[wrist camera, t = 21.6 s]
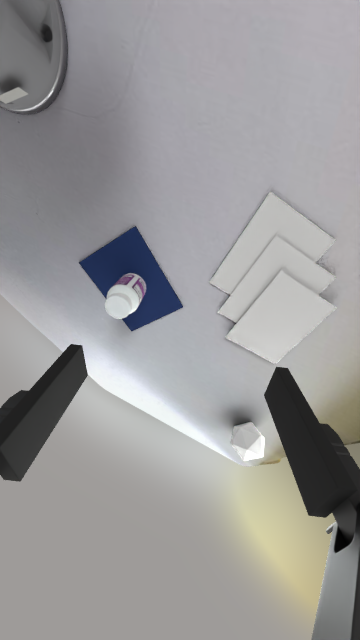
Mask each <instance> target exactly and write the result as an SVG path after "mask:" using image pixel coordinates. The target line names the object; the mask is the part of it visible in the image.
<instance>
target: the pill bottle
mask: <svg viewBox="0 0 360 640" xmlns="http://www.w3.org/2000/svg"><path fill="white" fill-rule="evenodd" d="M145 292H146V284H145V282H144V280H143V279H142V278H141V277H140V276H139V275H137V274H133V273H128V274H125V275H124V276H122V277H121V278H120V279H119V280H118V281H117V282H116V283H115V284H114V285H113V286H112V287H111V288H110V290H109V291H108V293H107V300H106V301H105V309H106V311H107V313H108V314H109V315H110V316H112V317H114V318H117V319H122V318H125V317H127V316H128V315H129V314H131V313H133V312H134V311H135V310H136V309H137V308H138V306H139V304H140V302H141V300H142V298H143V296H144V295H145Z"/></svg>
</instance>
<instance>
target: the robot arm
mask: <svg viewBox="0 0 360 640" xmlns="http://www.w3.org/2000/svg"><path fill="white" fill-rule="evenodd" d="M66 66H67V36H66V28H65V22H64V17H63V12H62V9H61V5H60V2H59V0H0V107H2V108H4V109H6V110H8V111H11V112H14V113H17V114H34V113H38V112H40V111H42V110H44V109H45V108H47V107H48V106H49V105H50V104H51V103H52V102H53V101H54V100H55V98H56V97H57V95H58V93H59V91H60V89H61V86H62V84H63V81H64V77H65V72H66ZM86 377H87V369H86V364H85V359H84V353H83V348H82V345H73V344H71V345H70V346H69V347H68V348H67V349H66V350H65V351H64V352H63V353H62V355H61V356H60V357H59V358H58V359H57V360H56V361H55V362H54V363H53V365H52V366H51V367H50V368H49V369H48V370H47V371H46V372H45V374H44V375H43V376H42V377H41V378H40V379H39V380H38V381H37V382H36V384H35V385H34V386H33V387H32V388H31V389H30V390H29V391H23V390H21V391H19V392H18V393H16V394H15V395H13V396H12V397H10V398H9V399H8V400H7V401H6V402H5V403H4V404H3V406H2V407H1V408H0V475H1V476H2V478H3V479H4V480H11V481H21V480H22V478H23V477H24V475H25V473H26V472H27V470H28V469H29V467H30V465H31V464H32V462H33V461H34V459H35V458H36V456H37V455H38V453H39V451H40V450H41V448H42V446H43V445H44V443H45V442H46V440H47V439H48V437H49V436H50V434H51V432H52V431H53V429H54V428H55V426H56V424H57V423H58V421H59V420H60V418H61V417H62V415H63V413H64V412H65V410H66V409H67V407H68V405H69V404H70V402H71V401H72V399H73V398H74V396H75V394H76V393H77V391H78V390H79V388H80V387H81V385H82V383H83V382H84V380H85V379H86ZM264 396H265V399H266V402H267V404H268V407H269V410H270V412H271V415H272V418H273V420H274V423H275V426H276V429H277V431H278V434H279V437H280V439H281V442H282V445H283V447H284V450H285V453H286V456H287V458H288V461H289V464H290V466H291V469H292V472H293V475H294V477H295V480H296V483H297V485H298V488H299V491H300V493H301V496H302V499H303V502H304V504H305V507H306V510H307V512H308V515H309V516H317V517H327V516H328V515H329V514H331V513H333V515H334V517H335V520H336V522H335V523H333V524H332V525H331V526H329V527H328V529H327V530H326V532H327V533H328V534H329V533H331V532H332V537H331V541H330V547H329V552H328V557H327V562H326V567H325V573H324V578H323V583H322V588H321V594H320V599H319V604H318V609H317V614H316V619H315V624H314V630H313V635H312V640H360V469H359V467H358V466H357V464H356V463H355V461H354V460H353V458H352V457H351V456H350V453H349V452H348V450H347V448H346V447H344V444H343V442H342V440H341V439H340V437H339V436H338V434H337V433H336V432H335V431H334V430H333V429H332V428H331V427H330V426H329V425H328V424H320V423H319V421H318V420H317V418H316V416H315V415H314V413H313V411H312V409H311V408H310V406H309V404H308V402H307V401H306V399H305V397H304V395H303V394H302V392H301V390H300V389H299V387H298V385H297V383H296V382H295V380H294V378H293V376H292V375H291V373H290V371H289V370H288V368H281V367H276V369H275V371H274V373H273V376H272V378H271V380H270V383H269V385H268V387H267V390H266V392H265V394H264Z"/></svg>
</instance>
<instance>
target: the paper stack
mask: <svg viewBox="0 0 360 640" xmlns="http://www.w3.org/2000/svg"><path fill="white" fill-rule="evenodd" d="M335 241H336V240H335V239H333V238H332V237H331V236H329V235H328V234H327V233H325V232H324V231H323V230H321V229H320V228H319V227H317V226H316V225H315V224H313V223H312V222H311V221H309V220H308V219H307V218H305V217H304V216H303V215H301V214H300V213H299V212H297V211H296V210H295V209H293V208H292V207H290V206H289V205H288V204H286V203H285V202H284V201H282V200H281V199H280V198H278V197H277V196H276V195H274V194H273V193H272V192H270V193H269V194H268V196H267V197H266V199H265V200H264V202H263V203H262V205H261V206H260V207H259V209H258V210H257V212H256V213H255V215H254V216H253V218H252V219H251V221H250V222H249V224H248V225H247V227H246V228H245V230H244V231H243V233H242V234H241V236H240V237H239V239H238V240H237V242H236V243H235V245H234V246H233V248H232V249H231V251H230V252H229V254H228V255H227V257H226V258H225V260H224V261H223V263H222V264H221V266H220V267H219V269H218V270H217V272H216V273H215V275H214V276H213V278H212V279H211V281H210V282H209V283H210V284H212V285H214V286H215V287H217V288H219V289H221V290H222V291H224V292H226V293H227V294H229V295H230V297H229V298H228V299H227V301H226V302H225V303H224V305H223V306H222V307H221V309H220V310H219V311H218V313H220V314H221V315H223V316H225V317H227V318H229V319H230V320H232V321H234V322H236V323H237V324H236V325H235V326H234V327H233V328H232V330H231V331H230V332H229V333H228V334H227V335H226V337H225V338H227V339H229V340H231V341H232V342H234V343H236V344H238V345H240V346H242V347H244V348H246V349H248V350H249V351H251V352H253V353H255V354H257V355H259V356H261V357H263V358H264V359H266V360H268V361H270V362H272V363H274V364H276V363H277V362H278V361H279V360H281V359H282V358H283V357H284V356H285V355H286V354H287V353H288V352H289V351H290V350H291V349H293V348H294V347H295V346H296V345H297V344H298V343H299V342H300V341H301V340H302V339H304V338H305V337H306V336H307V335H308V334H309V333H310V332H311V331H312V330H313V329H314V328H316V327H317V326H318V325H319V324H320V323H321V322H322V321H323V320H324V319H325V318H327V317H328V316H329V315H330V314H331V313H332V312H333V311H334V310H335V309H336V308H337V307H335V306H334V305H332V304H331V303H329V302H328V301H326V300H325V299H323V298H322V297H320V296H319V294H320V293H321V292H322V291H323V290H324V289H325V288H326V287H327V286H328V285H329V284H330V283H331V282H332V281H333V280H334V279H335V278H336V277H335V276H334V275H332V274H331V273H329V272H328V271H327V270H325V269H324V268H322V267H321V266H319V265H318V264H316V262H317V261H318V260H319V259H320V258H321V256H322V255H323V254H324V253H325V252H326V251H327V250H328V249H329V248H330V247H331V245H332V244H333V243H334V242H335Z"/></svg>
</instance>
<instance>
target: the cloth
mask: <svg viewBox="0 0 360 640" xmlns="http://www.w3.org/2000/svg"><path fill="white" fill-rule="evenodd" d="M79 264H80V265H81V266H82V268H83V269H84V270H85V271H86V273H87V274H88V275H89V277H90V278H91V279H92V281H93V282H94V283H95V284H96V286H97V287H98V288H99V290H100V291H101V292H102V294H103V295H104V296H105V298H106V299H107V293H108V291H109V290H110V288H111V287H112V286H113V285H114V284H115V283H116V282H117V281H118V280H119V279H120V278H121V277H122V276H124V275H125V274H128V273H133V274H137V275H139V276H140V277H141V278H142V279H143V280H144V282H145V284H146V292H145V295H144V296H143V298H142V300H141V302H140V304H139V306H138V308H137V309H136V310H135V311H134V312H133V313H131V314H129V315H128V316H127V317H125V318H122V320H123V321H124V322H125V324H126V325H127V326H128V328H129V329H130V330H131V331H133V330H135V329H138V328H140V327H142V326H144V325H146V324H148V323H150V322H152V321H155V320H157V319H159V318H161V317H163V316H165V315H167V314H170V313H172V312H174V311H176V310H178V309H180V308H182V307H183V306H182V304H181V302H180V301H179V299H178V297H177V295H176V294H175V292H174V290H173V289H172V287H171V285H170V284H169V282H168V280H167V279H166V277H165V275H164V273H163V272H162V270H161V268H160V267H159V265H158V263H157V262H156V260H155V258H154V257H153V255H152V253H151V251H150V250H149V248H148V246H147V245H146V243H145V241H144V240H143V238H142V236H141V235H140V233H139V231H138V229H137V228H136V226H135V227H133V228H132V229H130V230H129V231H127V232H126V233H124V234H123V235H121V236H119V237H118V238H116V239H115V240H113V241H112V242H110V243H109V244H107V245H106V246H104V247H102V248H101V249H99V250H98V251H96V252H95V253H93V254H92V255H90V256H89V257H87V258H86V259H84V260H82V261H81V262H79Z"/></svg>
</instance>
